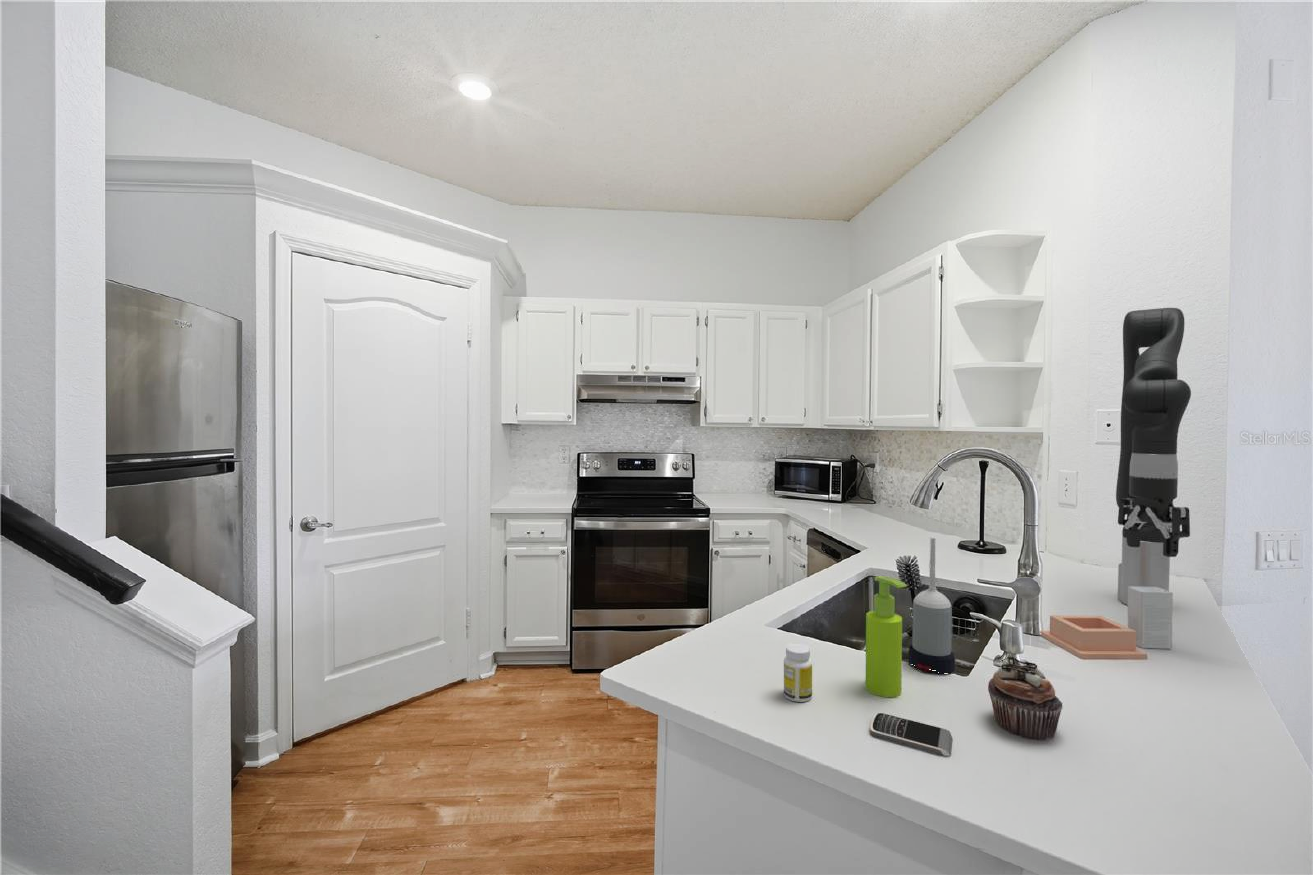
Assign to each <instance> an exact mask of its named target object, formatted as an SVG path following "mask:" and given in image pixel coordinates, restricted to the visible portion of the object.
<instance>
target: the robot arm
mask: <svg viewBox="0 0 1313 875" xmlns="http://www.w3.org/2000/svg"><path fill="white" fill-rule="evenodd" d="M1184 334H1185V315H1184V312H1183V311H1182V310H1181V309H1180V308H1178V307H1162V308H1158V307H1157V308H1148V309H1137V310H1130V311H1128V312H1127V313H1126V315H1124V318H1123V325H1122V349H1123V350H1122V351H1123V356H1122V357H1123V380H1122V392H1121V393H1122V395H1121V407H1120V409H1121V410H1120V453H1119V463H1118V472H1117V479H1116V487H1115V499H1116V500H1115V501H1116V505H1117V507H1118V512H1117V513H1118V515H1117V516H1118V517H1117V524H1118V525H1121V526H1123V527H1122V532H1121V535H1122V538H1121V541H1122V543H1121V563H1119V564H1118V569H1117V570H1118V573H1117V600H1119V601H1120V602H1121V603H1122V604H1124V605H1126V606H1128V586H1135V587H1159V588H1162V589H1164V590H1167V591H1169V592H1170V569H1171V568H1170V564H1171V560H1170V559H1171V558H1176V557H1177V556H1178V554H1179V542H1180V541H1179V540H1180V539H1181V538H1183V539H1184V538H1189V537H1191V524H1190V523H1191V522H1190V519H1191V518H1190V516H1191V515H1190V508H1189V507H1187V506H1180V507H1179V506H1177V507H1176V506H1175V505H1174V500H1175V499H1177V498H1178V486H1179V485H1178V483H1179V482H1178V479H1179V478H1178V477H1179V476H1178V475H1179V471H1178V470H1179V464H1178V455H1177V454H1178V436H1179V435H1178V434H1179V429H1180V424H1181V422H1182V419H1183V416H1184V413H1185V412H1186V410H1187V407H1188V405H1189V403H1190V399H1191V396H1192V391H1191V387H1190V385H1189V384H1188V383H1187V382H1186V381H1184V380H1181V379H1178V357H1179V354H1180V351H1181V348H1182V343H1183V340H1184V339H1183V338H1184ZM1142 348H1146V349H1145V350H1144V351H1142V352H1141V354H1140V349H1142Z"/></svg>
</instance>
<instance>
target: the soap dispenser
mask: <svg viewBox="0 0 1313 875" xmlns="http://www.w3.org/2000/svg"><path fill="white" fill-rule="evenodd" d="M874 581H876V582H879V583H878V584H879V585H878V586H879V587H878V588H879V590H878V593H876V594H874V596H873V610H870V611H868V612H866V614H865V615H866V616H865V619H866V620H865V684H864V685H865V689H866V690H867V691H868V692H869V693H871V694H873V695H875V696H879V697H881V698H882V697H883V698H896V697H899V696H900V695H901V694H902V675H903V674H902V671H903V670H902V667H903V666H902V664H903V662H902V661H903V660H902V659H903V657H902V656H903V649H902V648H903V617H902V616H901V615H899V614H897V613H895V607H896V606H895V603H896V602H895V600H896V598H895V596H893V595H892V594H891V593H890V592H891V591H890V589H891V588H890V586H893V587H895V588H897V589H898V590H899V589H904V588H906V587H908V584H906V583H905V582H902V581H901V580H899V579H897V578H894V577H891V576H890V577H889V576H884V575H879V576H874Z"/></svg>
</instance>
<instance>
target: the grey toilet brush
mask: <svg viewBox="0 0 1313 875" xmlns="http://www.w3.org/2000/svg"><path fill="white" fill-rule="evenodd" d="M929 544H930V545H929V564H928V567H929V585H928V586H929V587H928V588H927V589H925V590H923V591H920V592H919V593H918V594H917V595H915V597H914V598H913V603H912V642H911V643H912V644H910V645H909V647H908V651H907V654H908V656H907V657H908V660H907V661H908V665H910V664H913V665H910V667H912V668H914V669H915V670H916V671H920V672H923V673H926V674H931V675H937V676H947V675H951V674H953V673H955V671H956V656H955V652H953V650H952V626H953V624H952V621H953V620H952V618H953V616H952V615H953V613H952V612H953V611H952V610H953V608H952V603H951V602H950V600H949V599H948V598H947V597H946V595H945V594H943V593H942V592H939V591H938V589H937V586H936V537H930V540H929ZM914 665H915V666H914ZM929 669H931V670H929ZM932 670H936V671H932ZM938 672H939V673H938ZM944 673H948V674H944Z"/></svg>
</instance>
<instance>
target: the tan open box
mask: <svg viewBox="0 0 1313 875" xmlns="http://www.w3.org/2000/svg"><path fill="white" fill-rule="evenodd" d="M1039 633H1041V637H1042V636H1043V637H1042V638H1044V639H1046V640H1048V641H1050V642H1051V643H1053V644H1055V645H1056V646H1058V647H1060V648H1061V649H1063V650H1065V651H1067V652H1068V653H1071V654H1072V655H1074V656H1075V657H1078V658H1079V659H1081V660H1148V654H1147V653H1146V652H1144V651H1141V650H1140V649H1138V648H1137V645H1136V631H1134V630H1132V629H1130V628H1128V626H1125V625H1123V624H1121V623H1118V622H1116V621H1113V620H1111V619H1109V618H1107V617H1105V616H1103V615H1049V630H1040V631H1039Z"/></svg>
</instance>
